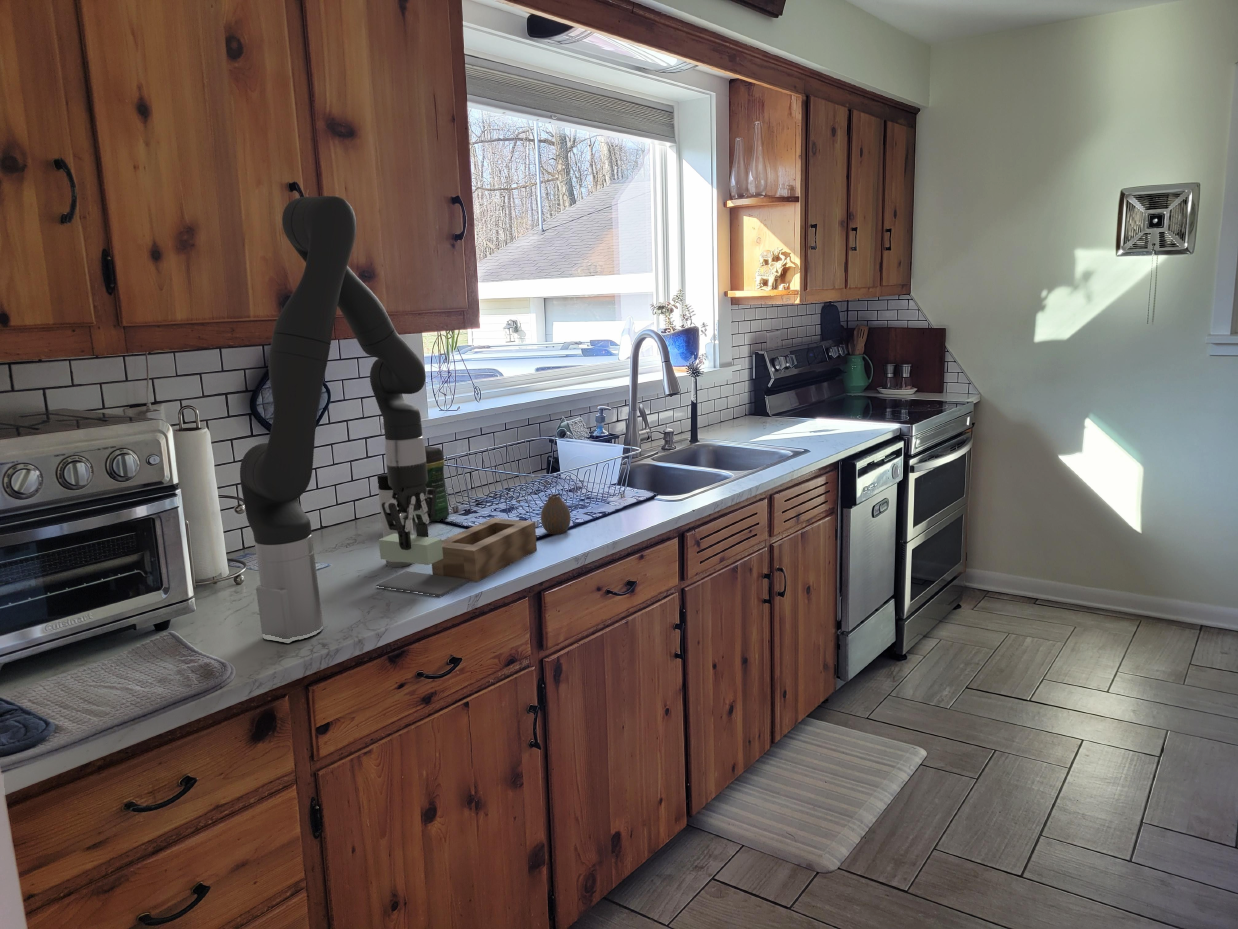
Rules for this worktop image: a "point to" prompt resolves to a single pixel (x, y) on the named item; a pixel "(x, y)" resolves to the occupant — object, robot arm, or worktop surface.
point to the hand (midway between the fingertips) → (414, 545)
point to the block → (411, 550)
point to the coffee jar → (436, 481)
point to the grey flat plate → (423, 583)
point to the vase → (555, 515)
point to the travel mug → (384, 496)
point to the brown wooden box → (486, 549)
